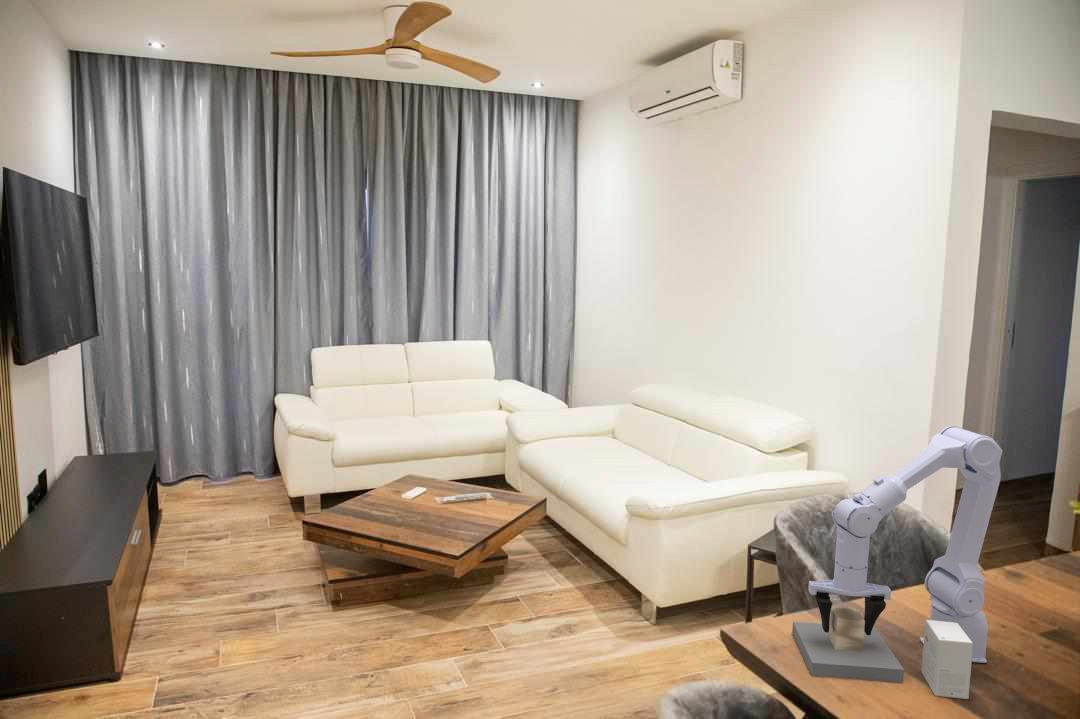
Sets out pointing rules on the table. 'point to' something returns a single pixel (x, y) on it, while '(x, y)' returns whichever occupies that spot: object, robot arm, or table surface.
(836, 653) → the slate plinth
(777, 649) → the table surface
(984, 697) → the table surface
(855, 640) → the maple block
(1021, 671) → the table surface
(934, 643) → the small box
